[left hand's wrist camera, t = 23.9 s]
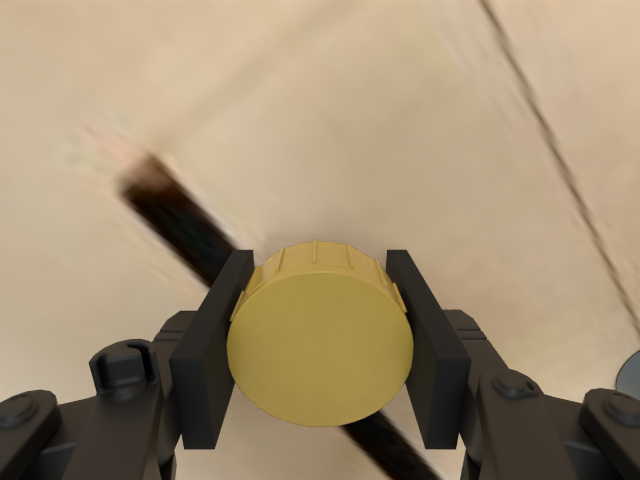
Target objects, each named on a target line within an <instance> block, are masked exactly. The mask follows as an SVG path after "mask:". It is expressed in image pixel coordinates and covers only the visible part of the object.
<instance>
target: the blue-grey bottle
mask: <svg viewBox="0 0 640 480" xmlns="http://www.w3.org/2000/svg"><path fill="white" fill-rule="evenodd" d="M616 389H617V391H618V392H621V393H625V394H627V395H630V396H632V397H634V398H635V399H637V400H639V401H640V351H639V352H638V353H636V354H635V355H634V356H632V357H631V358H630V359H629V360H628V361H627V363H626V364H625V365H624V366H623V368H622V369H621V371H620V373H619V375H618V378H617V383H616Z"/></svg>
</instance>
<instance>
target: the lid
mask: <svg viewBox="0 0 640 480" xmlns="http://www.w3.org/2000/svg"><path fill="white" fill-rule="evenodd" d="M405 312H407V310H406V307H405V305H404V303H403V300H402V298H401V295H400V293H399V291H398V288H397V286H396V284H395V283H392V281H391V279H390V278H389V276H388V275H387V273H386V272H385V271H384V270H383V268H382V267H381V266H380V264H379V262H378V260H377V259H375V260H373V259H372V258H371V257H369V256H368V255H366V254H364V253H363V252H361V251H359V250H357V249H355V248H352V247H351V246H350V244H347V245H343V244H339V243H333V242H321V241H320V242H317V240H313V242H307V243H302V244H297V245H294V246H291V247H288V248H286V249H284V247H283V248H281V249H280V251H279V252H278V253H276V254H274V255H273V256H271V257H270V258H268V259H267V260H266V261H265V262H264V263H262V264H261V266H260V267H258V266H256V267H255V270H254V272H253V275H252V277H251V278H250V280H249V282H248V284H247V286H246V289H245V291H242V292H241V295H240V297H239V299H238V302H237V304H236V306H235V309H234V311H233V313H232V316H231V318H230V321H231V322H232V323H231V325H230V329H229V332H228V336H227V355H228V363H229V368H230V371H231V374H232V377H233V378H234V380H235V382H236V384H237V386H238V387H239V389H240V390H241V391H242V393H243V394H244V395H245V396H246V397H247V398H248V399H249V400H250V401H251V402H252V403H253V404H255V405H256V406H257V407H258V408H260V409H261V410H263V411H264V412H266V413H268V414H269V415H271V416H273V417H275V418H278V419H280V420H283V421H286V422H289V423H293V424H297V425H303V426H310V427H331V426H338V425H344V424H348V423H352V422H355V421H357V420H360V419H363V418H365V417H367V416H369V415H371V414H373V413H375V412H376V411H378V410H379V409H381V408H382V407H384V406H385V405H386V404H387V403H388V402H390V401H391V400H392V399H393V397H394V396H395V395H396V394H397V393H398V392H399V390H400V389H401V388H402V386H403V385H404V383H405V381H406V379H407V377H408V375H409V372H410V370H411V366H412V358H413V348H414V341H413V335H412V331H411V328H410V325H409V322H408V320H407V317H406V315H405Z"/></svg>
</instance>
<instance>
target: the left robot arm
mask: <svg viewBox="0 0 640 480" xmlns="http://www.w3.org/2000/svg"><path fill="white" fill-rule="evenodd" d="M253 272H254V256H253V250H233V252H232V254H231V255H230V257H229V259H228V260H227V262H226V264H225V265H224V267H223V269H222V270H221V272H220V274H219V276H218V277H217V279H216V281H215V282H214V284H213V286H212V287H211V289H210V291H209V292H208V294H207V296H206V297H205V299H204V301H203V302H202V304H201V306H200V307H199V309H198V311H179V312H178V313H176V314H175V315H174V316H172V317H171V318H169V319H168V320H167V321H166V322H165V324H164V325H163V327H162V328H161V329H160V332H158V334H157V335H156V336H155V338H154V341H152V342H150V341H147V340H143V339H129V340H125V341H120V342H116V343H114V344H112V345H110V346H107V347H105V348H104V349H102V350H101V351H99V352H98V353H96V354H95V355H94V356H93V358H92V359H91V360H90V361H89V365H90V369H91V373H92V377H93V380H94V384H95V388H96V391H97V394H96V396H94V397H90V398H87V399H83V400H78V401H74V402H69V403H65V404H60V405H58V402H57V399H56V396H55V395H54V394H53V393H52V392H50V391H46V390H34V391H27V392H24V393H21V394H18V395H15V396H12V397H10V398H8V399H7V400H5V401H3V402H1V403H0V480H175V475H176V466H177V464H176V456H175V451H174V449H175V447H176V445H177V442H178V440H179V438H180V435H181V434H182V439H183V445H184V449H215V446H216V443H217V440H218V437H219V433H220V430H221V427H222V424H223V420H224V417H225V414H226V411H227V407H228V404H229V401H230V398H231V394H232V391H233V388H234V384H235V380H234V378H233V377H232V374H231V371H230V368H229V363H228V355H227V336H228V332H229V329H230V325H231V323H232V322H231V321H230V318H231V316H232V313H233V311H234V309H235V306H236V304H237V302H238V299H239V297H240V295H241V292H242V291H245V289H246V286H247V284H248V282H249V280H250V278H251V277H252V275H253ZM386 273H387V275H388V276H389V278H390V279H391V281H392V283H395V284H396V286H397V288H398V291H399V293H400V295H401V298H402V300H403V303H404V305H405V307H406V310H407V312H405V315H406V317H407V320H408V322H409V325H410V328H411V331H412V335H413V341H414V348H413V358H412V366H411V370H410V372H409V375H408V377H407V379H406V381H405V384H406V387H407V390H408V394H409V397H410V400H411V403H412V407H413V410H414V413H415V416H416V420H417V423H418V426H419V429H420V433H421V436H422V439H423V442H424V446H425V449H456V446H457V441H458V435H459V433H460V435H461V438H462V440H463V442H464V445H465V447H466V451H465V456H464V462H463V467H462V472H461V477H460V480H640V401H639V400H637V399H635V398H634V397H632V396H630V395H627V394H625V393H621V392H618V391H615V390H610V389H603V388H598V389H591V390H590V391H589V392H587V393H586V394H585V397H584V400H583V403H578V402H573V401H569V400H565V399H560V398H556V397H552V396H548V395H545V394H544V393H543V392H542V390H541V389H540V387H539V386H538V384H537V383H535V382H534V381H533V380H532V379H530V378H529V377H528V376H526V375H524V374H522V373H520V372H518V371H515V370H511V369H509V368H508V367H507V365H506V364H505V362H504V361H503V360H502V358H501V357H500V355H499V354H498V353H497V351H496V350H495V349H494V347H493V346H492V344H491V343H490V342H489V340H487V337H486V336H485V335H484V333H483V332H482V331H481V329H480V328H479V326H478V325H477V323H476V322H475V321H474V319H473V318H471V317H470V316H469V315H467V314H466V313H464V312H463V311H461V310H442V309H441V307H440V305H439V304H438V302H437V300H436V299H435V297H434V295H433V294H432V292H431V290H430V289H429V287H428V285H427V283H426V282H425V280H424V278H423V277H422V275H421V273H420V272H419V270H418V268H417V267H416V265H415V263H414V262H413V260H412V258H411V257H410V255H409V253H408V252H407V250H387V260H386Z"/></svg>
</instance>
